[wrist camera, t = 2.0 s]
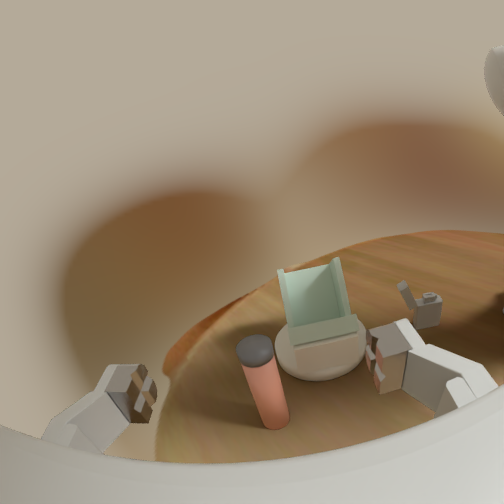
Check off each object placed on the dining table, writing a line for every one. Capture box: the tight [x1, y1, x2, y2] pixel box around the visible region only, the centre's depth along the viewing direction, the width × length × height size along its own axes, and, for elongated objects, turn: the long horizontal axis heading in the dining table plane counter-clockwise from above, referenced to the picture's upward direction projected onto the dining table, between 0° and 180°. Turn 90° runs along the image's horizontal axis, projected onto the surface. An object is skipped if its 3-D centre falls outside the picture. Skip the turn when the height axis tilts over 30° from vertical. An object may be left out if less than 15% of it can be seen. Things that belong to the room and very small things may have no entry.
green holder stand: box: [275, 257, 367, 381], centre depth 37 cm, size 13×13×12 cm
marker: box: [236, 334, 290, 430], centre depth 28 cm, size 3×3×12 cm
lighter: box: [397, 280, 443, 330], centre depth 36 cm, size 7×2×8 cm, turn 80°
